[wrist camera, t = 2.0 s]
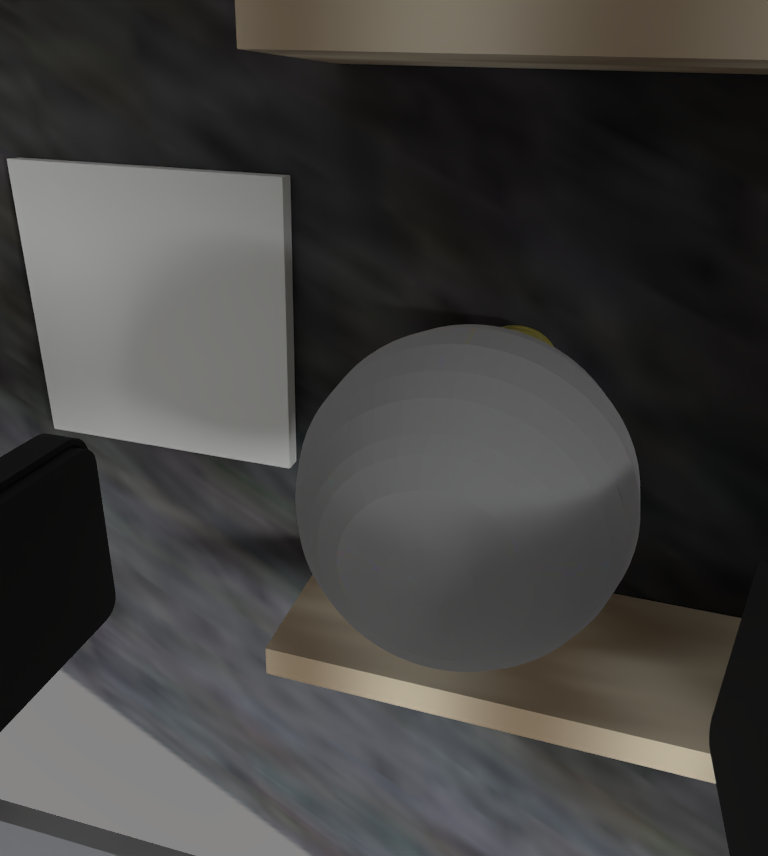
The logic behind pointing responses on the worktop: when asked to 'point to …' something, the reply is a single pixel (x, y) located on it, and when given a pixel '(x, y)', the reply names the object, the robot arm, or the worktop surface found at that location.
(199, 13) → the worktop surface
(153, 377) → the grey pad
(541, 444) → the light bulb
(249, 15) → the u-shaped wooden frame
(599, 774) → the worktop surface
